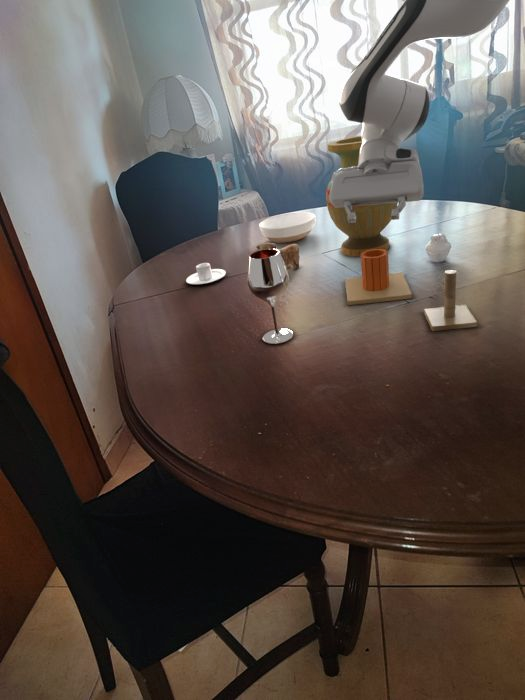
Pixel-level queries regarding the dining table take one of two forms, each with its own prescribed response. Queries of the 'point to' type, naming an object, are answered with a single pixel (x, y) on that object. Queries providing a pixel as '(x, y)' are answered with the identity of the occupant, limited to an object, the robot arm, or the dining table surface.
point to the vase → (358, 208)
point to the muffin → (438, 248)
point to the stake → (450, 309)
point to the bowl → (288, 226)
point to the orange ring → (375, 269)
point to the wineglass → (269, 287)
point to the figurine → (285, 253)
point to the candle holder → (205, 274)
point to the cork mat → (394, 292)
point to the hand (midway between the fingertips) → (372, 220)
